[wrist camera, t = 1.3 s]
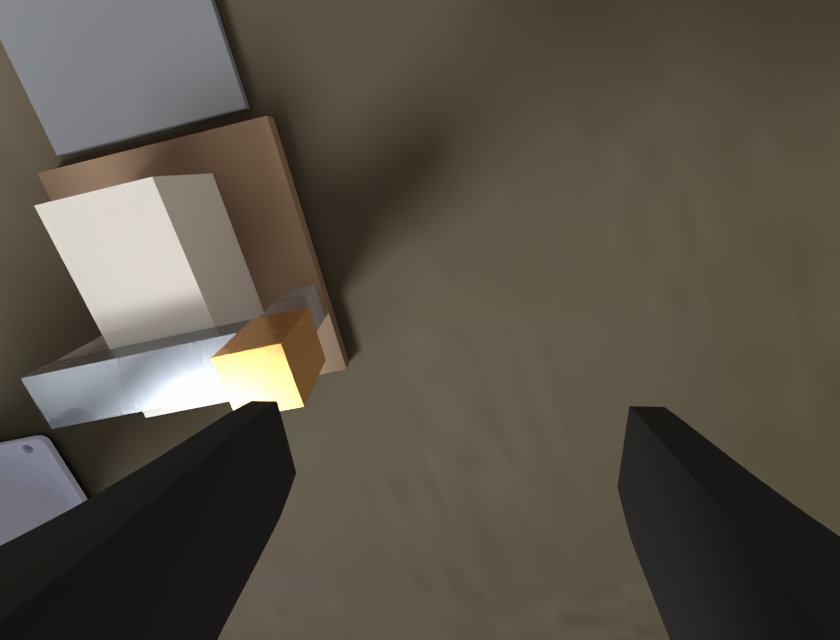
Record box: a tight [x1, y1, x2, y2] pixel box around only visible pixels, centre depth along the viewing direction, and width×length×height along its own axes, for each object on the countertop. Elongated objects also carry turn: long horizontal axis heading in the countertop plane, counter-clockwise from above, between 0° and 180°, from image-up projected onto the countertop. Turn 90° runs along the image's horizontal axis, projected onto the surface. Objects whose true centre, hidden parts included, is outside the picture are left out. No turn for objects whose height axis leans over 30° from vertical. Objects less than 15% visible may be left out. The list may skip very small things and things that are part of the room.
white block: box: [34, 173, 264, 418], centre depth 16 cm, size 4×8×4 cm, turn 13°
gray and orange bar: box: [20, 307, 326, 429], centre depth 13 cm, size 10×2×3 cm, turn 102°
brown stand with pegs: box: [37, 116, 349, 375], centre depth 17 cm, size 10×11×5 cm
